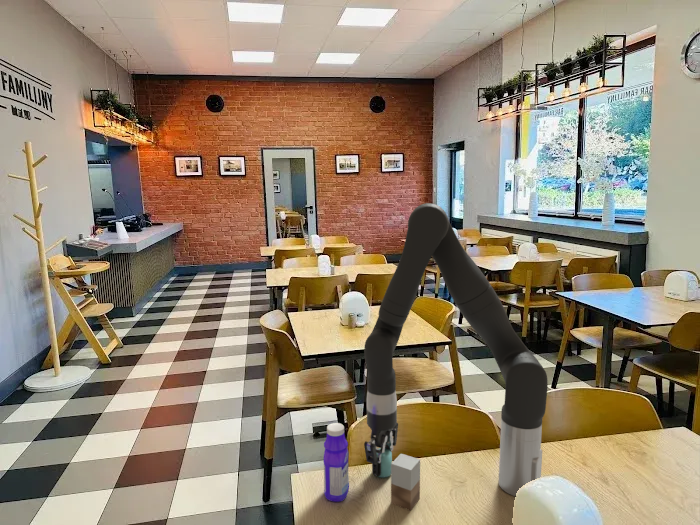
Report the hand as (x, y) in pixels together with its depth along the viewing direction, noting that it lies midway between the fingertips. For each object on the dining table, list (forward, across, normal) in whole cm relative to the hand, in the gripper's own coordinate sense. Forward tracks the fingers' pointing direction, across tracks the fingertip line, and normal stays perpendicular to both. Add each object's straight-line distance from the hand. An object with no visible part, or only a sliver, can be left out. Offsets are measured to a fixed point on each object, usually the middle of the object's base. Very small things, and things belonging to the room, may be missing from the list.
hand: (382, 469), depth 123 cm
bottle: (+1, -13, +5) cm, 14 cm away
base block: (+1, -7, -10) cm, 12 cm away
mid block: (-4, -7, -10) cm, 12 cm away
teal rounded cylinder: (+1, 0, 0) cm, 1 cm away
